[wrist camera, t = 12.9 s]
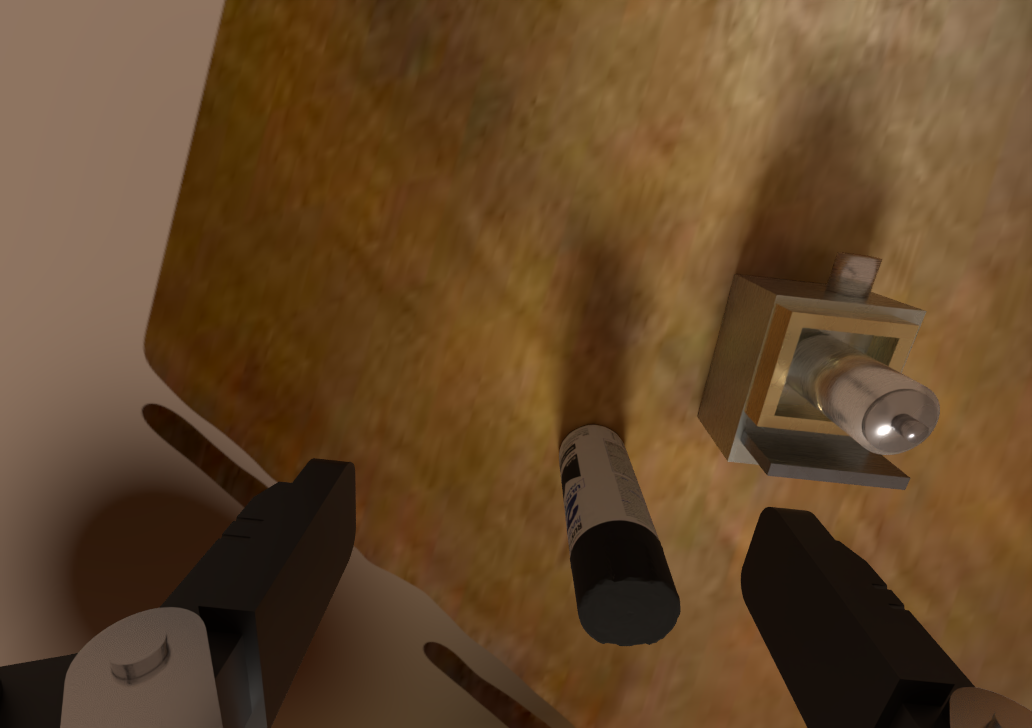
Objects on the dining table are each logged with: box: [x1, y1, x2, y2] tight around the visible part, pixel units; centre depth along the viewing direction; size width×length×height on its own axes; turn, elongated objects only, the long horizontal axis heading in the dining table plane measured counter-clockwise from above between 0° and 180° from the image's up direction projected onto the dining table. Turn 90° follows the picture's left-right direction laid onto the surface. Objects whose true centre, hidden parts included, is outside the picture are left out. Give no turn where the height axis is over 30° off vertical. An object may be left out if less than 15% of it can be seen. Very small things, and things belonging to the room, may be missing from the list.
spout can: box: [786, 335, 940, 455], centre depth 33 cm, size 5×5×11 cm
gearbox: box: [698, 252, 926, 490], centre depth 40 cm, size 17×11×13 cm, turn 174°
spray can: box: [559, 425, 680, 646], centre depth 41 cm, size 7×7×20 cm
